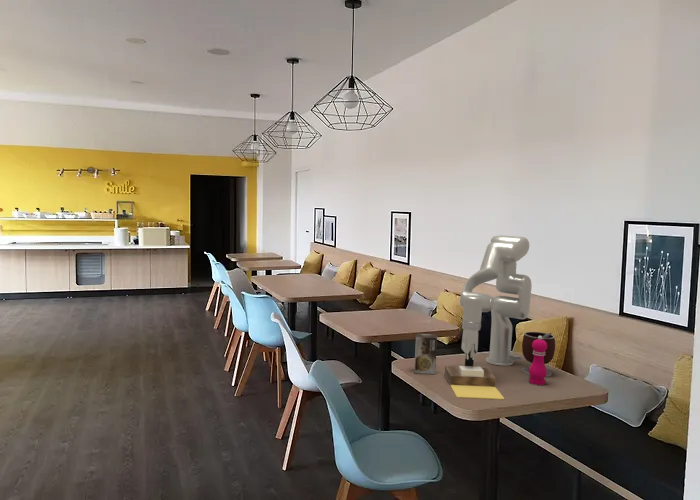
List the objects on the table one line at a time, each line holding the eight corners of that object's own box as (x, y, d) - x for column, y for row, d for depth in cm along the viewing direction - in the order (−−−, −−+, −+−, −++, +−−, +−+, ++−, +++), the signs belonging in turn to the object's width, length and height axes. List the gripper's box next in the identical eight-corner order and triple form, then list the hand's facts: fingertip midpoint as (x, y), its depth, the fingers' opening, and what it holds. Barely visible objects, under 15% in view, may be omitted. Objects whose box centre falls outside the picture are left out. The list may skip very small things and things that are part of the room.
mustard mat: (494, 387, 222) (495, 386, 222) (504, 399, 208) (504, 398, 208) (450, 385, 222) (450, 384, 222) (456, 397, 208) (457, 396, 208)
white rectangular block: (480, 372, 228) (480, 366, 228) (483, 377, 222) (483, 371, 222) (458, 371, 228) (459, 365, 228) (461, 376, 222) (461, 369, 222)
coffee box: (434, 370, 243) (436, 334, 242) (435, 374, 237) (437, 337, 235) (413, 368, 244) (415, 332, 243) (414, 373, 237) (416, 336, 236)
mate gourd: (514, 368, 251) (517, 325, 250) (541, 367, 254) (544, 325, 253) (533, 379, 236) (536, 333, 234) (561, 378, 239) (565, 332, 238)
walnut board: (486, 377, 236) (487, 367, 236) (494, 387, 222) (495, 377, 222) (444, 375, 236) (445, 366, 236) (450, 385, 222) (450, 376, 222)
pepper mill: (529, 378, 236) (532, 333, 234) (547, 381, 233) (550, 335, 231) (526, 383, 230) (530, 336, 228) (545, 386, 226) (548, 338, 225)
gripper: (459, 321, 236) (456, 363, 237) (466, 328, 221) (463, 373, 223) (476, 321, 236) (474, 364, 237) (484, 329, 221) (481, 374, 222)
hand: (468, 368), depth 230 cm, fingers closed
